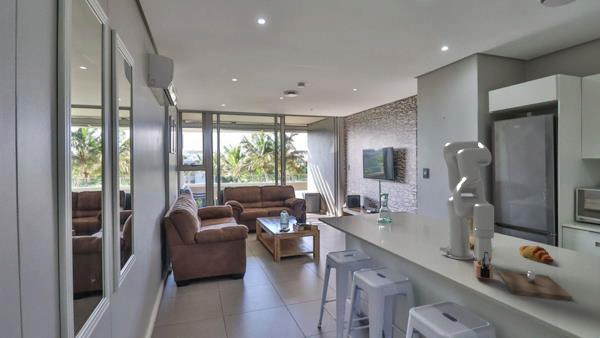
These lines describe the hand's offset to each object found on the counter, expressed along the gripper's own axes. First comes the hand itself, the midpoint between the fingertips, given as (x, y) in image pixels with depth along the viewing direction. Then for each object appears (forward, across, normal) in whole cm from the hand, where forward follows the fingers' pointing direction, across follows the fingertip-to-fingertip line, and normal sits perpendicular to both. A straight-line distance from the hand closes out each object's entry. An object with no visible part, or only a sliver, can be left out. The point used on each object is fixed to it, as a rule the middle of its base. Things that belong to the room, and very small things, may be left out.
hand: (483, 274), depth 126 cm
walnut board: (+2, +3, +16) cm, 16 cm away
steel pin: (0, +3, +16) cm, 16 cm away
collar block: (+1, 0, 0) cm, 1 cm away
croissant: (+3, -37, +31) cm, 48 cm away
